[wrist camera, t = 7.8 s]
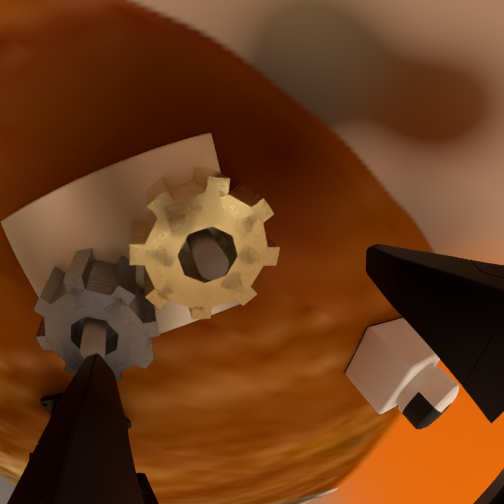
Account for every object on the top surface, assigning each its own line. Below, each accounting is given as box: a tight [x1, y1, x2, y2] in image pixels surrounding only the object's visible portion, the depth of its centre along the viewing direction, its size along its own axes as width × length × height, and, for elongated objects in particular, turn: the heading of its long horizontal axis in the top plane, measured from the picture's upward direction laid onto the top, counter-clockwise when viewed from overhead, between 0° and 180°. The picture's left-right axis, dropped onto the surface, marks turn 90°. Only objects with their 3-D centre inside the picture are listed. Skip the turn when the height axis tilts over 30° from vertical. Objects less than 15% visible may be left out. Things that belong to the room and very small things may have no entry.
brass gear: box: [130, 167, 280, 319], centre depth 13 cm, size 6×6×3 cm
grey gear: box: [34, 248, 160, 381], centre depth 12 cm, size 6×6×3 cm
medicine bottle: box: [345, 318, 459, 429], centre depth 23 cm, size 7×7×12 cm
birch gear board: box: [1, 133, 240, 359], centre depth 12 cm, size 12×10×5 cm
